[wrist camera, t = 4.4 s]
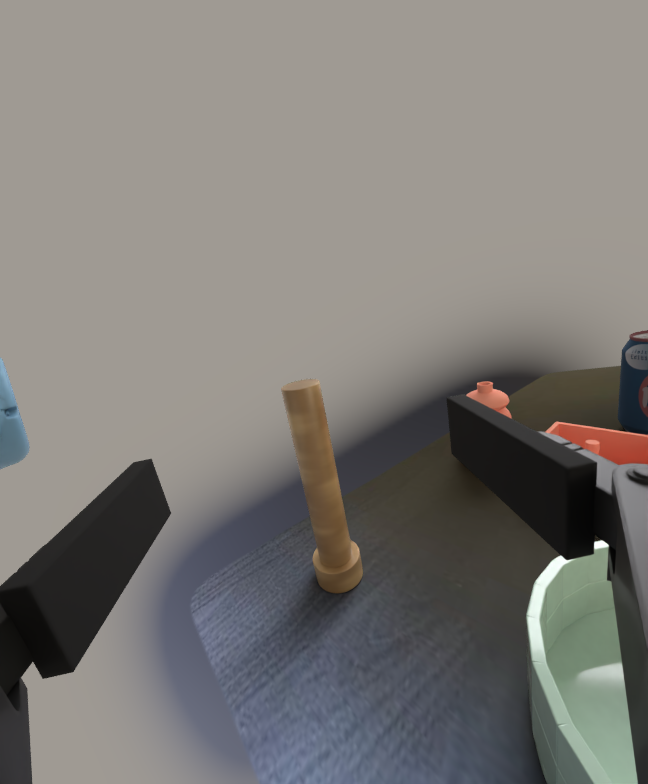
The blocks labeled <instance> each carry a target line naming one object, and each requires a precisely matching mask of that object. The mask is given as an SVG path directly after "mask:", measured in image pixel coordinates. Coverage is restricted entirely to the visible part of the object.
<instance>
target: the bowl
mask: <svg viewBox="0 0 648 784" xmlns="http://www.w3.org/2000/svg"><path fill="white" fill-rule="evenodd" d="M608 547H609V545H608V544H607V543H605V542H604V541H603V540H600V541H596V542H594V554H593V555H589V556H585V557H580V558H576V559H571V560H566V559H564V558H563V557H562V556H559V557H557V558H555V559H553V560H552V561H551V562H550V564H549V565H548V566H547V567H546V569H545V570H544V571H543V572H542V574H541V575H540V576H539V577H538V579H537V580H536V581H535V582H534V585H533V589H532V593H531V597H530V601H529V605H528V610H527V614H526V637H527V679H528V693H529V702H530V717H531V723H532V730H533V736H534V741H535V745H536V749H537V752H538V756H539V760H540V763H541V767H542V770H543V774H544V777H545V779H546V782H547V784H638V781H637V774H636V766H635V758H634V751H633V743H632V736H631V728H630V720H629V713H628V705H627V697H626V690H625V682H624V675H623V667H622V659H621V652H620V644H619V637H618V629H617V621H616V614H615V606H614V599H613V591H612V583H611V581H607V567H608Z"/></svg>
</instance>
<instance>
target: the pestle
mask: <svg viewBox="0 0 648 784" xmlns="http://www.w3.org/2000/svg"><path fill="white" fill-rule="evenodd" d="M281 390H282V395H283V399H284V404H285V408H286V412H287V417H288V421H289V426H290V430H291V435H292V439H293V443H294V447H295V452H296V457H297V461H298V465H299V470H300V474H301V479H302V483H303V487H304V491H305V496H306V500H307V505H308V509H309V513H310V518H311V523H312V527H313V531H314V536H315V540H316V545H317V549H316V550H315V552H314V555H313V564H314V568H315V573H316V577H317V581H318V583H319V585H320V586H321V587H322V588H323V589H324V590H326V591H328V592H330V593H344V592H347V591H349V590H351V589H353V588H354V587H355V586H356V585H357V584H358V583H359V582H360V580H361V578H362V575H363V568H362V562H361V557H360V552H359V548H358V546H357V545H356V544H355V543H354V542H353V541H351V540H350V537H349V532H348V527H347V522H346V517H345V511H344V506H343V501H342V496H341V491H340V486H339V481H338V476H337V470H336V465H335V460H334V455H333V450H332V445H331V439H330V434H329V429H328V424H327V419H326V413H325V409H324V403H323V398H322V393H321V388H320V382H319V380H316V379H306V380H300V381H296V382H292V383H289V384H287V385H285V386H283V387H282V388H281Z"/></svg>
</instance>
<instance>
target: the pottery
mask: <svg viewBox="0 0 648 784" xmlns="http://www.w3.org/2000/svg"><path fill="white" fill-rule="evenodd" d="M492 386H493V383H492V382H479V383H477V389H478V390H475V391H472V392H470V393H469V394H467V395H466V396H468V397H470V398H472V399H474V400H476V401H478V402H480V403H482V404H484V405H485V406H487V407H489V408H491V409H493V410H495V411H497V412H499V413H501V414H503V415H505V416H507V417H509V418H511V414H510V412H509V410H508V409H507V408H506V406H507V404H508V403H509V398H508V396H507V395H506V394H505V393H503V392H501V391H499V390H496V389H492V388H493V387H492ZM546 433H550V434H554V435H558V436H560V437H562V438H564V439H566V440H569V441H571V442H572V444H573V443H575V444H577V445H579V446H581V447H583V449H587V450H589V451H591V452H593V453H596V454H598V455H600V456H602V457H604V458H606V459H608V460H610V461H612V462H614V463H616V464H618V465H623V464H630V463H634V464H648V435H644V434H637V433H630V432H623V431H616V430H610V429H603V428H596V427H589V426H582V425H575V424H569V423H562V422H555V423H554V424H553V425H552V426H551V427H550V428H549V429H548V430H547V431H546Z"/></svg>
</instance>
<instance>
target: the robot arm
mask: <svg viewBox="0 0 648 784" xmlns="http://www.w3.org/2000/svg"><path fill="white" fill-rule="evenodd" d="M447 407H448V417H449V428H450V439H451V450H452V454H453V455H454V456H455V457H456V458H457V459H458V460H459V461H460V462H461V463H462V464H463V465H465V466H466V467H467V468H468V469H469V470H470V471H471V472H472V473H473V474H474V475H475V476H476V477H477V478H479V479H480V480H481V481H482V482H483V483H484V484H485V485H486V486H487V487H488V488H489V489H490V490H491V491H492V492H494V493H495V494H496V495H497V496H498V497H499V498H500V499H501V500H502V501H503V502H504V503H505V504H506V505H508V506H509V507H510V508H511V509H512V510H513V511H514V512H515V513H516V514H517V515H518V516H519V517H520V518H522V519H523V520H524V521H525V522H526V523H527V524H528V525H529V526H530V527H531V528H532V529H533V530H534V531H535V532H537V533H538V534H539V535H540V536H541V537H542V538H543V539H544V540H545V541H546V542H547V543H548V544H549V545H551V546H552V547H553V548H554V549H555V550H556V551H557V552H558V553H559V554H560V555H561V556H562V557H563V558H564V559H566V560H571V559H576V558H580V557H585V556H589V555H593V554H594V541H595V535H596V536H597V537H599V538H600V539H601V540H603V541H604V542H605V543H607V544H608V545H609V547H608V567H607V581H611V583H612V591H613V599H614V606H615V614H616V621H617V629H618V637H619V644H620V652H621V659H622V667H623V675H624V682H625V690H626V697H627V705H628V713H629V720H630V728H631V736H632V743H633V751H634V758H635V766H636V774H637V781H638V784H648V464H634V463H630V464H623V465H618V464H616V463H614V462H612V461H610V460H608V459H606V458H604V457H602V456H600V455H598V454H596V453H593V452H591V451H589V450H587V449H583V447H581V446H579V445H577V444H575V443H573V444H572V442H571V441H569V440H566V439H564V438H562V437H560V436H558V435H554V434H550V433H546V432H542V431H540V432H537V431H535V430H533V429H531V428H529V427H527V426H525V425H523V424H521V423H519V422H517V421H515V420H513V419H511V418H509V417H507V416H505V415H503V414H501V413H499V412H497V411H495V410H493V409H491V408H489V407H487V406H485V405H484V404H482V403H480V402H478V401H476V400H474V399H472V398H470V397H468V396H466V395H464V394H462V395H457V396H452V397H448V398H447ZM28 452H29V442H28V439H27V435H26V432H25V429H24V425H23V422H22V419H21V416H20V413H19V410H18V406H17V403H16V400H15V397H14V393H13V390H12V387H11V384H10V381H9V377H8V374H7V371H6V368H5V366H4V363H3V360H2V359H1V358H0V469H2V468H4V467H7V466H10V465H13V464H15V463H18V462H19V461H21V460H22V459H24V458H25V456H26V455H27V454H28ZM170 514H171V512H170V509H169V506H168V503H167V501H166V498H165V495H164V492H163V490H162V487H161V484H160V481H159V479H158V476H157V473H156V470H155V467H154V465H153V462H152V459H148V460H144V461H138V462H134V463H133V464H131V465H130V466H129V467H128V468H127V469H126V470H125V471H124V472H123V473H122V474H121V475H120V476H119V477H118V478H117V479H115V480H114V481H113V482H112V483H111V484H110V485H109V486H108V487H107V488H106V489H105V490H104V491H103V492H102V493H101V494H99V495H98V496H97V497H96V498H95V499H94V500H93V501H92V502H91V503H90V504H89V505H88V506H87V507H86V508H85V509H83V511H81V512H80V513H79V514H78V515H77V516H76V517H75V518H74V519H73V520H72V521H71V522H70V523H69V524H68V525H67V526H65V527H64V528H63V529H62V530H61V531H60V532H59V533H58V534H57V535H56V536H55V537H54V538H53V539H52V540H50V541H49V542H48V543H47V544H46V545H44V546H43V547H42V548H41V549H40V550H39V551H37V553H35V554H34V555H33V556H32V557H31V558H30V559H29V561H28V562H26V563H25V564H24V565H22V566H21V567H20V568H19V569H18V571H17V572H16V573H14V574H13V575H12V576H11V577H10V578H9V579H8V580H7V581H5V582H4V583H3V584H2V585H1V586H0V784H32V771H31V752H30V733H29V715H28V695H27V688H26V686H25V684H24V682H23V680H22V679H21V677H22V675H23V674H24V672H25V671H26V670H27V668H28V667H29V666H30V665H31V663H32V662H34V664H35V666H36V668H37V669H38V671H39V673H40V674H41V676H42V678H43V679H44V678H49V677H53V676H57V675H62V674H67V673H71V672H74V670H75V668H76V666H77V665H78V663H79V662H80V660H81V658H82V657H83V655H84V654H85V652H86V650H87V649H88V647H89V646H90V644H91V642H92V641H93V639H94V637H95V636H96V634H97V633H98V631H99V629H100V628H101V626H102V625H103V623H104V621H105V620H106V618H107V616H108V615H109V613H110V612H111V610H112V608H113V607H114V605H115V603H116V602H117V600H118V599H119V597H120V595H121V594H122V592H123V590H124V588H125V587H126V585H127V584H128V582H129V580H130V579H131V577H132V575H133V574H134V573H135V571H136V569H137V568H138V566H139V564H140V563H141V561H142V560H143V558H144V556H145V555H146V553H147V552H148V550H149V548H150V547H151V545H152V543H153V542H154V540H155V539H156V537H157V535H158V534H159V532H160V530H161V529H162V527H163V526H164V524H165V522H166V521H167V519H168V517H169V516H170Z"/></svg>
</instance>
